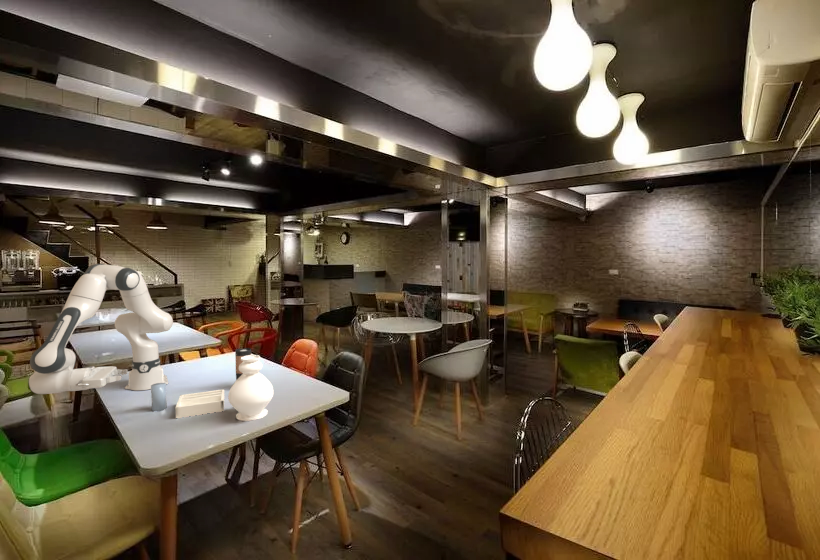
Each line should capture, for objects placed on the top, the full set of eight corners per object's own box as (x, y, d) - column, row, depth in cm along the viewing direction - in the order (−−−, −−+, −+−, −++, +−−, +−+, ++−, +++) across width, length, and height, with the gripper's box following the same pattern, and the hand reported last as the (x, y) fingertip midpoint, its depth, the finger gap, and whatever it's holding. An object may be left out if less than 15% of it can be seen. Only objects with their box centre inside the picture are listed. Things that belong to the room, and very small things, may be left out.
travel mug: (246, 390, 191) (245, 351, 190) (232, 389, 193) (231, 351, 191) (255, 385, 198) (254, 348, 197) (242, 384, 200) (241, 347, 199)
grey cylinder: (153, 407, 169) (152, 383, 169) (167, 405, 172) (166, 382, 171) (150, 412, 164) (149, 387, 164) (165, 410, 167) (164, 385, 166)
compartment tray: (180, 405, 172) (180, 395, 172) (224, 398, 180) (224, 389, 180) (175, 418, 158) (175, 407, 158) (223, 411, 165) (223, 400, 165)
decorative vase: (228, 426, 150) (226, 365, 149) (229, 410, 167) (228, 354, 165) (275, 419, 157) (274, 360, 156) (272, 404, 174) (271, 350, 172)
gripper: (73, 378, 146) (117, 373, 152) (91, 365, 165) (129, 361, 171) (74, 394, 147) (117, 389, 152) (91, 379, 165) (130, 375, 171)
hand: (124, 374), depth 162 cm, fingers open, 8 cm apart
